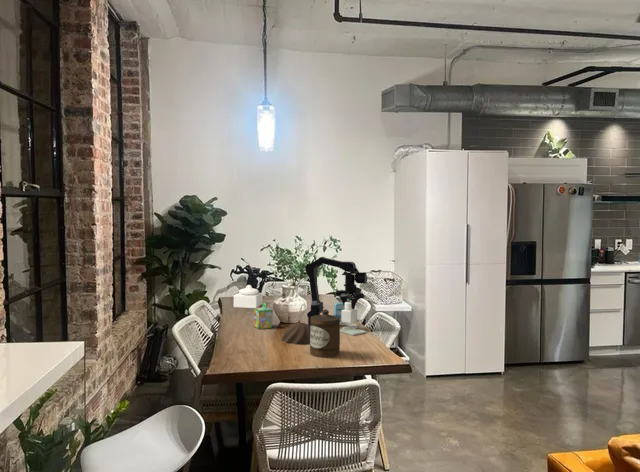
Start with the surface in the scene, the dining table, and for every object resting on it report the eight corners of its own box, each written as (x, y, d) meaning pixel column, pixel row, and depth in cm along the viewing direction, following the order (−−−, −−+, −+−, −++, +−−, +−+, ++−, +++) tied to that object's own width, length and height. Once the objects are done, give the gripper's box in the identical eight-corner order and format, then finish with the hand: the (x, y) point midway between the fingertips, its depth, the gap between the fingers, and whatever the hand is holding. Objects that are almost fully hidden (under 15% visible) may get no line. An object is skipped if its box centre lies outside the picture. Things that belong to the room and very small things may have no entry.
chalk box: (253, 326, 302) (253, 302, 301) (267, 325, 306) (267, 301, 305) (258, 329, 293) (258, 305, 293) (272, 328, 298) (273, 304, 297)
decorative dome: (309, 334, 284) (309, 317, 283) (322, 343, 265) (323, 325, 265) (277, 337, 276) (277, 319, 276) (289, 346, 258) (289, 327, 257)
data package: (335, 322, 319) (335, 303, 319) (333, 320, 324) (334, 302, 323) (353, 321, 321) (353, 303, 321) (351, 320, 326) (352, 302, 325)
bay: (343, 331, 294) (343, 327, 294) (329, 327, 304) (329, 323, 304) (359, 328, 303) (359, 325, 303) (344, 324, 312) (344, 321, 312)
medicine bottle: (347, 319, 302) (348, 300, 301) (357, 321, 297) (357, 301, 297) (341, 321, 296) (341, 302, 296) (350, 323, 292) (351, 303, 291)
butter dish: (256, 308, 362) (256, 287, 361) (232, 307, 365) (233, 286, 364) (262, 304, 379) (263, 284, 378) (240, 303, 382) (240, 283, 381)
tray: (353, 335, 282) (353, 333, 282) (340, 332, 291) (340, 330, 291) (366, 333, 290) (366, 331, 290) (353, 329, 298) (353, 327, 298)
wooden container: (303, 353, 245) (304, 309, 244) (324, 347, 255) (325, 306, 254) (324, 359, 234) (325, 313, 233) (345, 354, 245) (346, 310, 244)
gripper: (370, 283, 294) (369, 309, 295) (348, 280, 308) (347, 304, 309) (357, 284, 287) (357, 311, 287) (335, 281, 301) (335, 306, 301)
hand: (349, 308), depth 296 cm, fingers closed on medicine bottle, 6 cm apart
